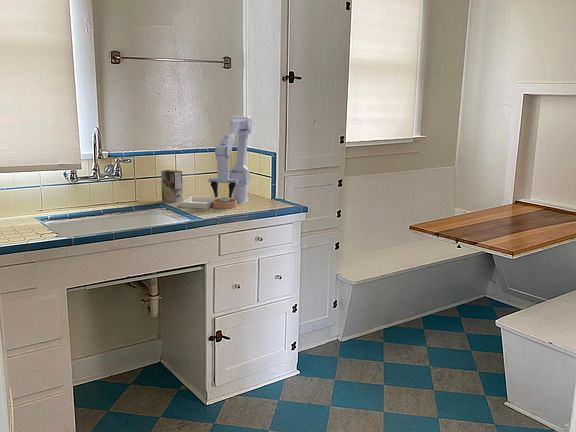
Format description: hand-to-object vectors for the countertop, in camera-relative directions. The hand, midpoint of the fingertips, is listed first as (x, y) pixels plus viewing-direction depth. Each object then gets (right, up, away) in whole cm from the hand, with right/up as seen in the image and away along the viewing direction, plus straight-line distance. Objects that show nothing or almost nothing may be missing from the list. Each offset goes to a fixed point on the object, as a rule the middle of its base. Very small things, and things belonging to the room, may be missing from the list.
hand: (223, 197), depth 301 cm
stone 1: (0, -5, +1) cm, 5 cm away
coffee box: (-28, -2, +15) cm, 32 cm away
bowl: (0, -5, +4) cm, 6 cm away
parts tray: (-13, -4, +7) cm, 15 cm away
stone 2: (+1, -4, +6) cm, 7 cm away
